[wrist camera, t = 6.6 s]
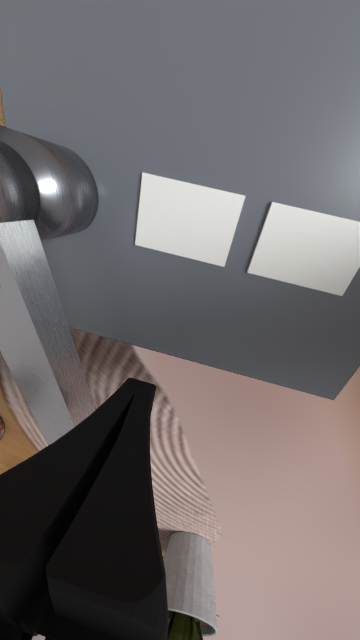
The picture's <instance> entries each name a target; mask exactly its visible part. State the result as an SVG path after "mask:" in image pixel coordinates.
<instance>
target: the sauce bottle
mask: <svg viewBox="0 0 360 640" xmlns="http://www.w3.org/2000/svg"><path fill="white" fill-rule="evenodd" d="M4 430H5V428H4V424H3V422H2V420H1V418H0V440H1V439H2V438H3V435H4Z"/></svg>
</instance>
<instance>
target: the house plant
mask: <svg viewBox="0 0 360 640" xmlns="http://www.w3.org/2000/svg"><path fill="white" fill-rule="evenodd" d="M163 562H164V567H165V573H166V589H167V602H168V637H167V640H203V638H202V636H205V637H206V636H214V635H216V634H217V617H216V604H215V591H214V578H213V564H212V551H211V544H210V543H209V542H208V541H207V540H206V539H204V538H203V537H201V536H199V535H196V534H193V533H188V532H176V533H173V534H172V535H171V536H170V539H169V543H168V546H167V550H166V553H165V556H164V560H163Z"/></svg>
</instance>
